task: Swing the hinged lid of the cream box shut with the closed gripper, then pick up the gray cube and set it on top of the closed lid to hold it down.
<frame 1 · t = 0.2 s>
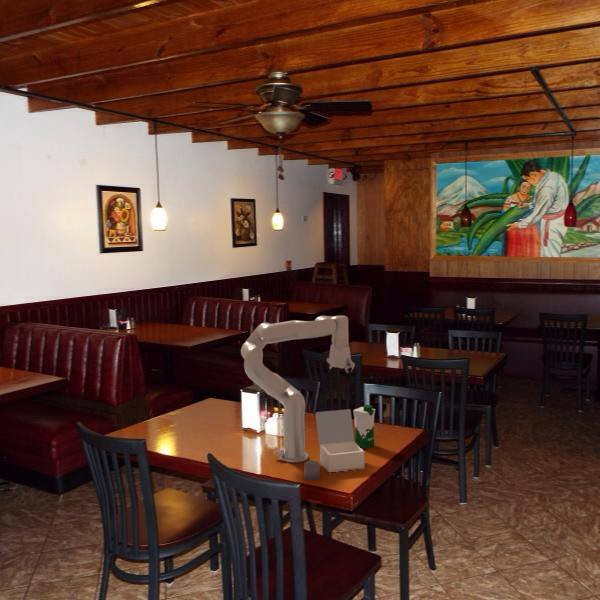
hand: (340, 379, 284), 35 cm above the table, tool pointing down, fingers open, 9 cm apart
gray cube: (312, 477, 259), on the table
milk carton: (364, 446, 296), on the table
lid: (334, 426, 279), point 15 cm above the table, hinge at 110.0°
box: (341, 465, 271), on the table
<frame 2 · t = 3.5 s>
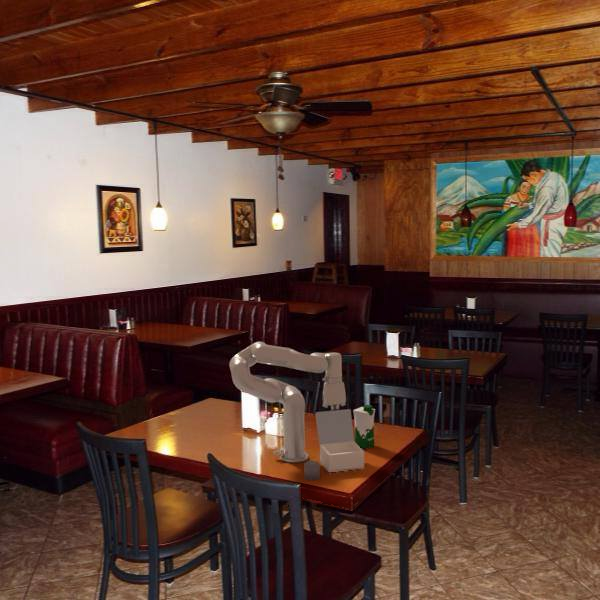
hand: (334, 418, 283), 17 cm above the table, tool pointing down, fingers closed
lid: (334, 426, 279), point 15 cm above the table, hinge at 109.5°, touching box, gripper
everything else where it was.
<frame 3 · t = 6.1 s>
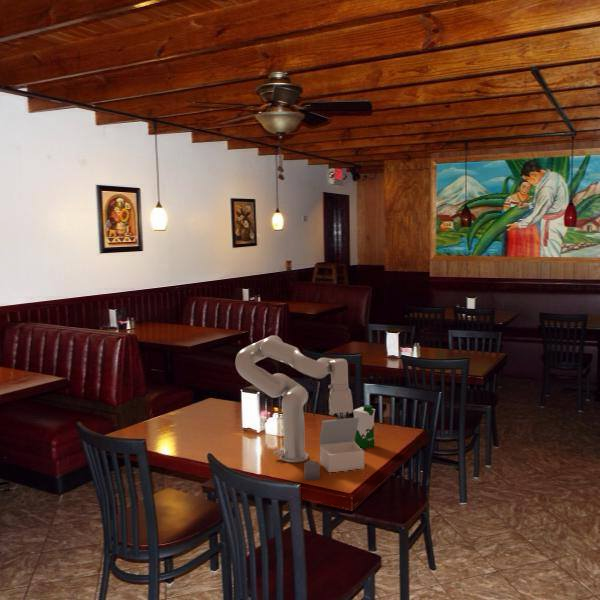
hand: (341, 426, 274), 16 cm above the table, tool pointing down, fingers closed
lid: (338, 431, 273), point 14 cm above the table, hinge at 60.6°, touching box, gripper
everything else where it was.
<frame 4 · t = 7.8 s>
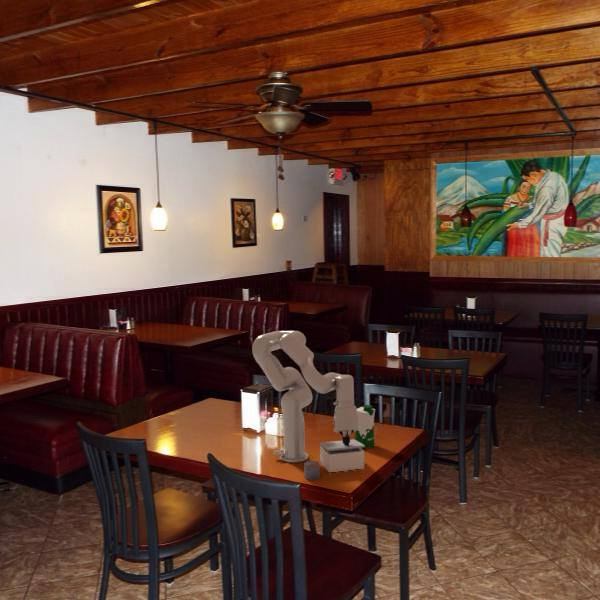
hand: (346, 444, 267), 10 cm above the table, tool pointing down, fingers closed
lid: (341, 444, 270), point 9 cm above the table, hinge at 7.8°, touching gripper
everything else where it was.
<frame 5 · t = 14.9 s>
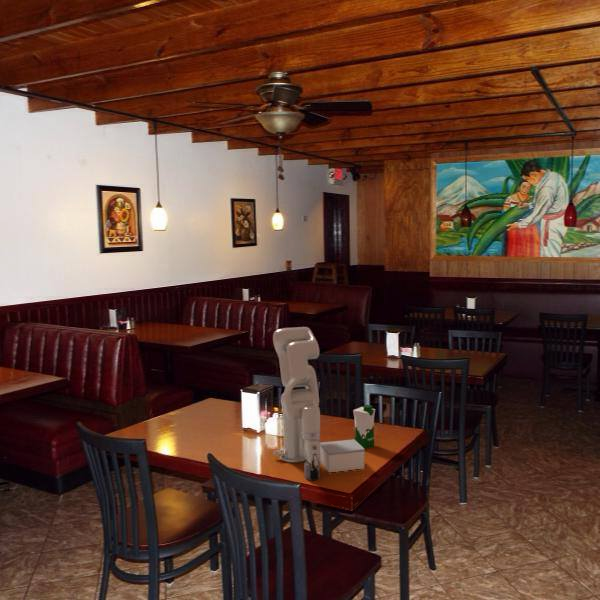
hand: (312, 475, 259), 1 cm above the table, tool pointing down, fingers closed on gray cube, 6 cm apart
gray cube: (312, 477, 259), on the table, touching gripper
lid: (341, 446, 270), point 9 cm above the table, hinge at 1.4°, touching box
everything else where it was.
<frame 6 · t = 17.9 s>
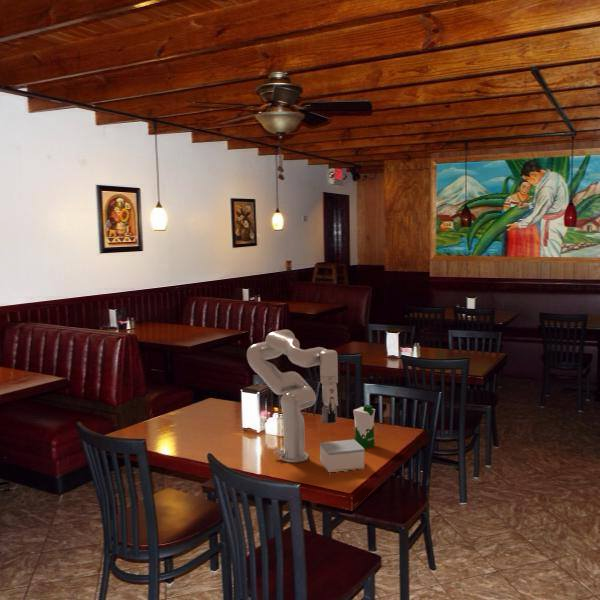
hand: (329, 419, 264), 23 cm above the table, tool pointing down, fingers closed on gray cube, 6 cm apart
gray cube: (329, 421, 264), point 22 cm above the table, touching gripper
everything else where it was.
when the fingers open (11 cm above the table, at t = 21.0 s): gray cube drops 2 cm, resting on lid.
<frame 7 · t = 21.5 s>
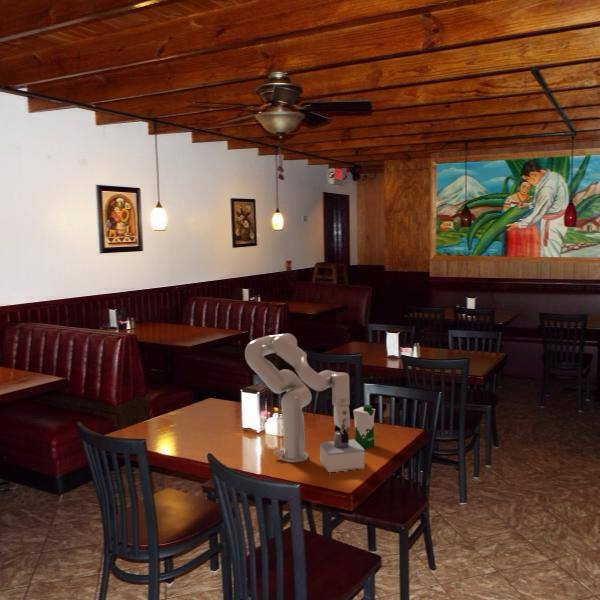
hand: (341, 438, 270), 12 cm above the table, tool pointing down, fingers open, 9 cm apart
gray cube: (341, 446, 270), point 9 cm above the table, touching lid
lid: (341, 447, 270), point 8 cm above the table, hinge at 0.2°, touching gray cube
everything else where it was.
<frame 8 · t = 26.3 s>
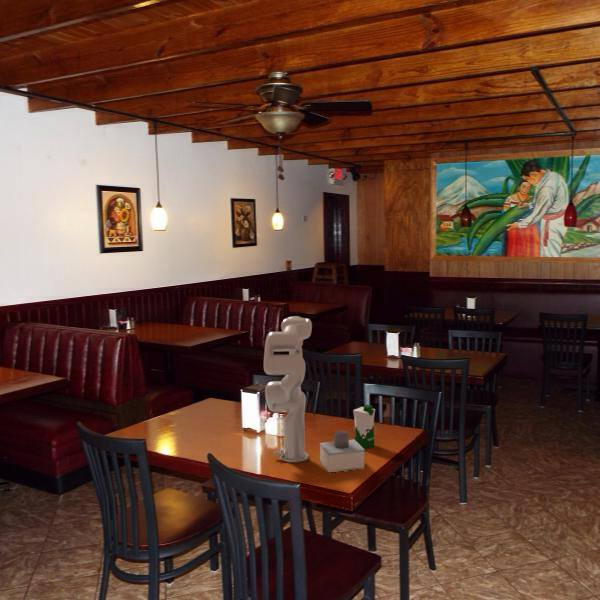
hand: (295, 376, 299), 33 cm above the table, tool pointing down, fingers open, 9 cm apart
nothing on the table moved.
at the end: lid at +0° (first picture: +110°); gray cube inside the target area on the box (0.0 cm from its centre), point 8.8 cm above the box's base; gray cube tilted 0° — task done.
